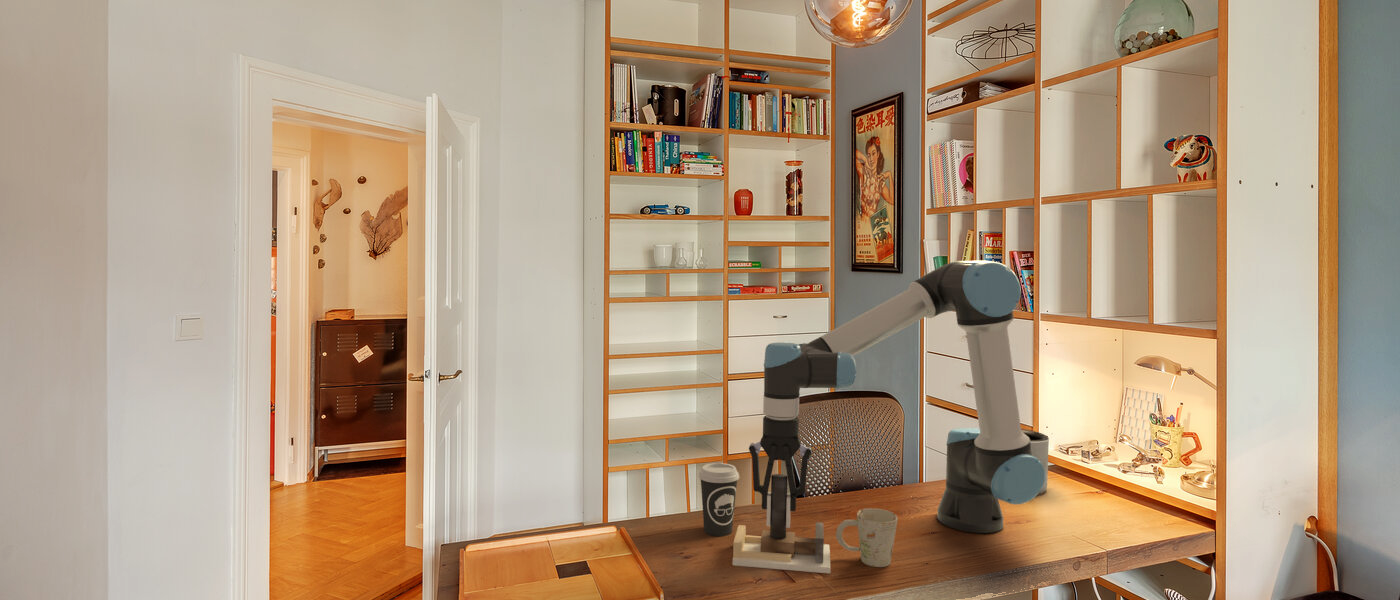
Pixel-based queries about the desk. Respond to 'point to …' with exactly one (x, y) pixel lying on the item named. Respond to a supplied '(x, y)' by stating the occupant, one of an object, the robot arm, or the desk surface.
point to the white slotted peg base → (774, 556)
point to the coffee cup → (718, 497)
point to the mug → (872, 535)
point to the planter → (1039, 451)
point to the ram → (777, 535)
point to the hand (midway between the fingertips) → (778, 524)
